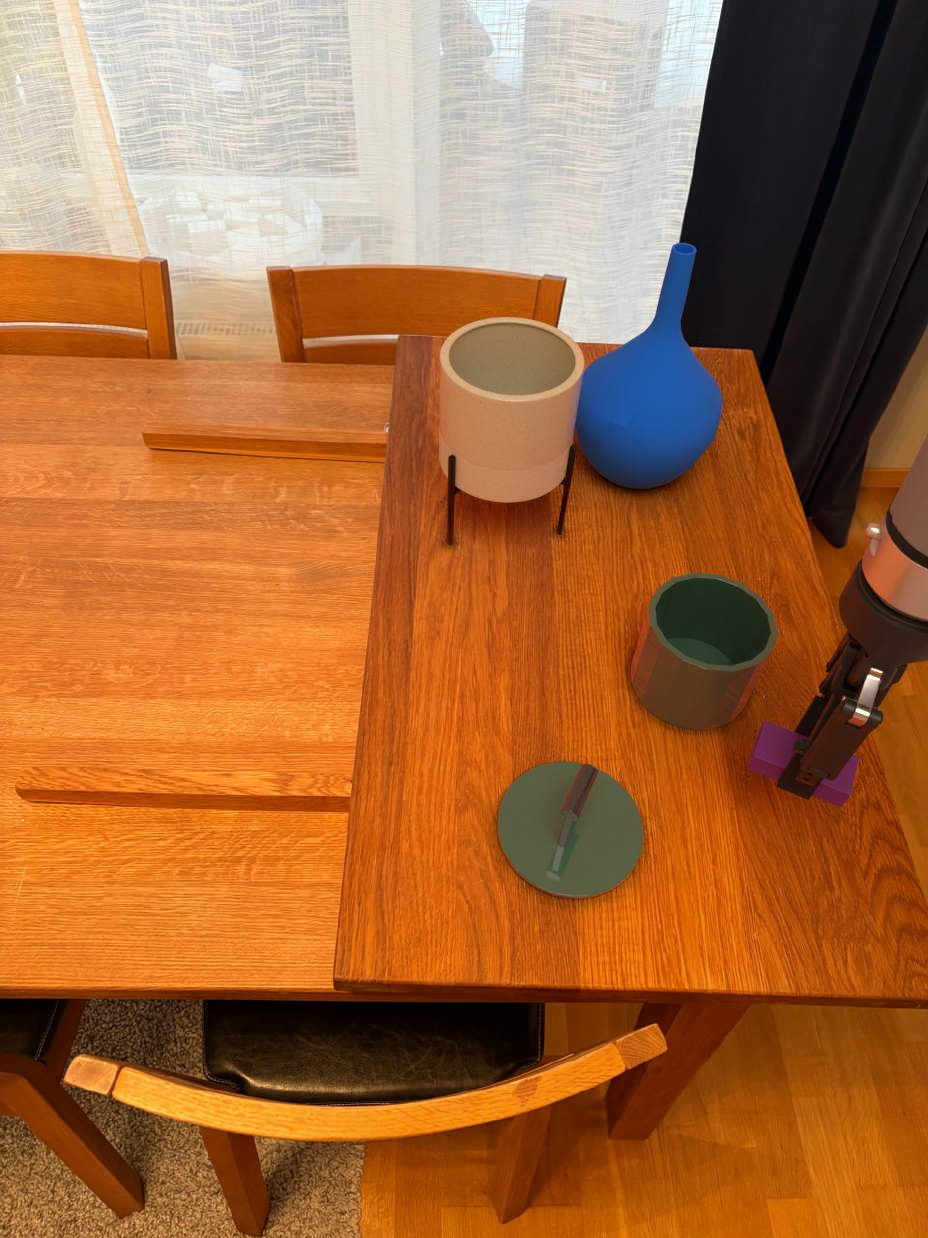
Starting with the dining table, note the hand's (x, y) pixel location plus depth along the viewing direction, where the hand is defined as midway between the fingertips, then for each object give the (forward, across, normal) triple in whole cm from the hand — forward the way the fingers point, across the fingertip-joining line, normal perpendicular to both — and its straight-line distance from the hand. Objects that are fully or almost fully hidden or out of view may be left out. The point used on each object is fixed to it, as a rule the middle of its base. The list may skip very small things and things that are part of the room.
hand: (799, 767), depth 73 cm
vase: (+11, -44, -28) cm, 54 cm away
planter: (+11, -27, -40) cm, 50 cm away
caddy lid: (+11, +9, -16) cm, 21 cm away
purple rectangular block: (0, 0, 0) cm, 0 cm away
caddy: (+11, -13, -11) cm, 21 cm away
